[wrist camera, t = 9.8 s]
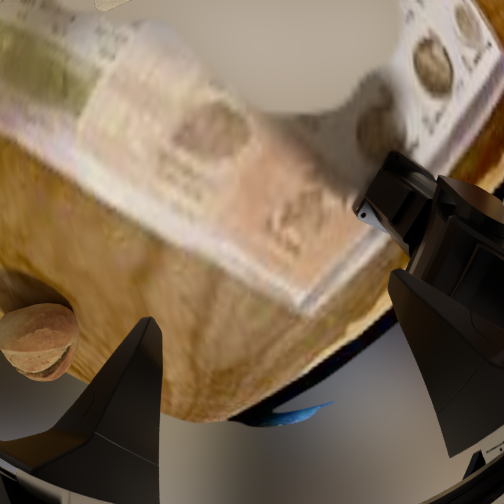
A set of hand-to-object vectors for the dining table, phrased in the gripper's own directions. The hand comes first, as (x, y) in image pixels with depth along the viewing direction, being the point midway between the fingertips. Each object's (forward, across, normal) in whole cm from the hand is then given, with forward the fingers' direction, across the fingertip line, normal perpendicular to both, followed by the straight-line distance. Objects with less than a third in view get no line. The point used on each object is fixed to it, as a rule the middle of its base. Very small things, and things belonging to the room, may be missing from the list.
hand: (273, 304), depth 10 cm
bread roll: (+12, +28, +10) cm, 32 cm away
